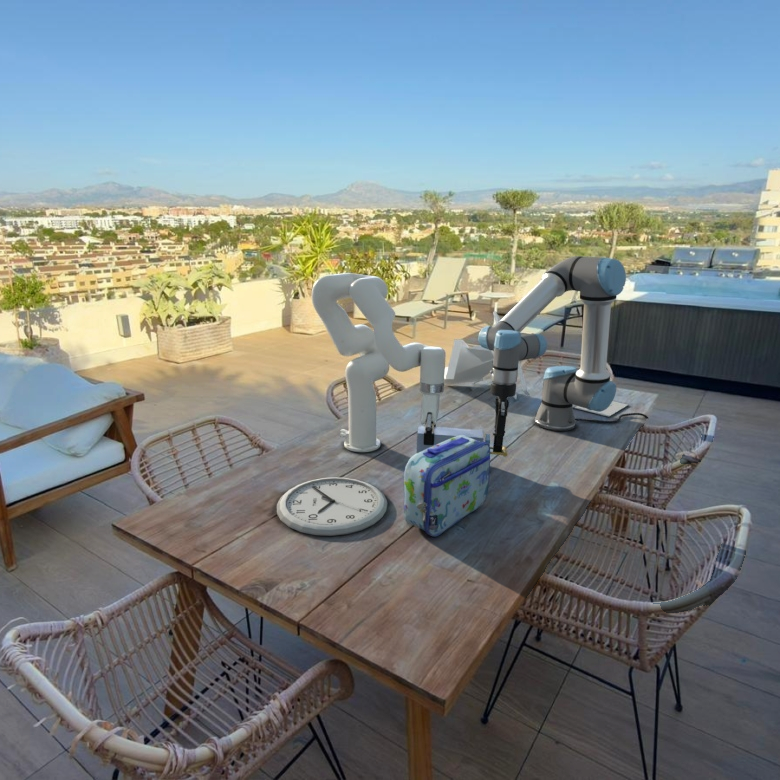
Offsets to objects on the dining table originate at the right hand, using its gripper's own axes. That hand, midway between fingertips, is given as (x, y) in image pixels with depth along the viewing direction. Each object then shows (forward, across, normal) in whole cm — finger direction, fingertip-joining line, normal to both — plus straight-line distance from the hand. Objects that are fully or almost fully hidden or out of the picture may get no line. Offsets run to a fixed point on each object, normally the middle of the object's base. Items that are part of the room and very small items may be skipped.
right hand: (497, 453), depth 165 cm
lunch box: (+6, +33, -14) cm, 36 cm away
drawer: (+4, 0, -10) cm, 10 cm away
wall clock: (+6, +32, -45) cm, 56 cm away
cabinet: (+5, 0, -15) cm, 16 cm away
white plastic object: (+5, -81, -4) cm, 81 cm away
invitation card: (+4, -70, +48) cm, 85 cm away
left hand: (-3, 0, -22) cm, 22 cm away
